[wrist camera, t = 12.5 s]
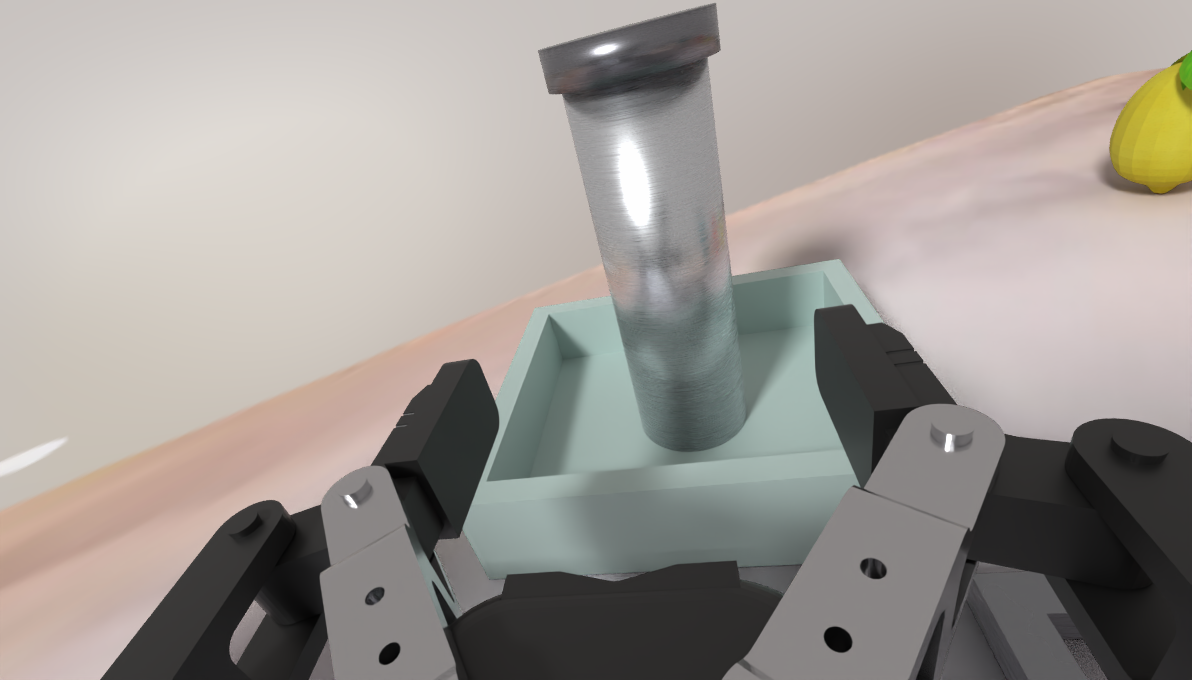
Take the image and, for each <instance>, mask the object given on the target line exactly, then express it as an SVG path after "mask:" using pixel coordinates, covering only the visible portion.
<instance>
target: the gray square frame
mask: <svg viewBox="0 0 1192 680" xmlns="http://www.w3.org/2000/svg"><path fill="white" fill-rule="evenodd" d="M966 600H967V602H968V604H969V606H970V608H971V610H972V612H973V614H974V616H975V618H976V620H977V622H978V624H979V626H980V628H981V630H982V632H983V634H984V635H985V637H986V639H987V641H988V643H989V645H990V647H991V649H992V651H993V653H994V655H995V657H996V659H997V661H998V663H999V665H1000V667H1001V669H1002V671H1003V673H1004V675H1005V677H1006V678H1007V680H1088V679H1087V677H1086V676H1085V674H1084V673H1083V671H1082V669H1081V668H1080V666H1079V665H1078V663H1077V662H1076V660H1075V658H1074V657H1073V655H1072V654H1071V652H1070V650H1069V649H1068V647H1067V646H1066V644H1065V643H1064V641H1063V639H1083V638H1082V636H1081V635H1080V633H1079V631H1078V630H1077V628H1076V626H1075V625H1074V623H1073V622H1072V620H1071V618H1070V617H1069V615H1068V613H1067V612H1066V610H1065V608H1064V607H1063V605H1062V603H1061V602H1060V600H1059V599H1058V597H1057V595H1056V594H1055V592H1054V590H1053V589H1052V587H1051V585H1050V584H1049V582H1048V581H1047V579H1046V577H1045V576H1044V574H1040V573H1035V572H1030V571H1023V572H1000V573H977V574H975V576H974V579H973V582H972V584H971V587H970V590H969V593H968V596H967V599H966Z"/></svg>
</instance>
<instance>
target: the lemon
mask: <svg viewBox="0 0 1192 680" xmlns="http://www.w3.org/2000/svg"><path fill="white" fill-rule="evenodd" d="M1109 149H1110V157H1111V161H1112V164H1113V166H1114V169H1115V170H1116V171H1117V173H1118V174H1119V175H1120V176H1122V177H1124V178H1125V179H1128V180H1130V181H1132V182H1135V183H1139V184H1143V185H1146V186H1148V188H1149V189H1150V190H1151V191H1152V192H1154V193H1161V194H1162V193H1166V192H1168V191H1170V190H1172V189H1173V188H1174V187H1176V186H1177V185H1179V184H1182V183H1186V182H1189V181H1192V50H1191V52H1190V53H1188V54H1186V55H1185V56H1183V57H1181V58H1180V59H1178V60H1177V61H1176V62H1174V63H1173V64H1172V65H1171V66H1170V67H1168V68H1167V69H1165V70H1163V71H1161V72H1160V73H1158V74H1156V75H1155V76H1154V77H1152V78H1151V79H1150V80H1148V81H1147V82H1146V83H1145V84H1144V85H1143V86H1142V87H1141V88H1140V89H1139V90H1138V91H1137V92H1136V93H1135V94H1134V95H1133V96H1132V97H1131V99H1130V100H1129V101H1128V102H1127V104H1126V105H1125V107H1124V108H1123V110H1122V111H1121V113H1120V115H1119V117H1118V119H1117V121H1116V124H1115V126H1114V129H1113V132H1112V135H1111V138H1110V147H1109Z"/></svg>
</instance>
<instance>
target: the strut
mask: <svg viewBox="0 0 1192 680" xmlns="http://www.w3.org/2000/svg"><path fill="white" fill-rule="evenodd" d="M720 50H721V49H720V39H719V30H718V20H717V9H716V3H713V4H708V5H704V6H700V7H696V8H692V9H688V10H684V11H680V12H676V13H672V14H668V15H664V16H660V17H657V18H653V19H649V20H645V21H642V22H638V23H634V24H630V25H626V26H623V27H619V28H616V29H611V30H608V31H604V32H600V33H597V34H593V35H590V36H586V37H583V38H579V39H575V40H572V41H568V42H564V43H561V44H557V45H554V46H551V47H547V48H544V49H541V50H538V53H539V56H540V61H541V64H542V68H543V72H544V76H545V80H546V84H547V88H548V92H549V94H562V96H563V100H564V104H565V108H566V112H567V116H568V120H569V124H570V128H571V132H572V137H573V141H574V145H575V149H576V153H577V157H578V161H579V166H580V170H581V174H582V178H583V182H584V186H585V190H586V195H587V199H588V203H589V207H590V211H591V215H592V220H593V224H594V228H595V232H596V236H597V240H598V244H599V248H600V253H601V257H602V261H603V265H604V269H605V273H606V277H607V282H608V286H609V290H610V294H611V298H612V302H613V306H614V311H615V315H616V319H617V323H618V327H619V331H620V335H621V339H622V344H623V348H624V352H625V356H626V360H627V364H628V368H629V373H630V377H631V381H632V385H633V389H634V393H635V397H636V401H637V406H638V410H639V414H640V418H641V422H642V426H643V430H644V432H645V434H646V435H647V436H648V438H649V439H650V440H652V441H653V442H654V443H656V444H657V445H659V446H661V447H664V448H666V449H670V450H674V451H680V452H697V451H704V450H708V449H712V448H715V447H717V446H720V445H722V444H724V443H726V442H727V441H729V440H731V439H732V438H733V437H735V436H736V435H737V434H738V433H739V432H740V430H741V429H742V428H743V426H744V424H745V421H746V417H747V410H746V401H745V392H744V383H743V374H742V365H741V356H740V347H739V338H738V328H737V319H736V310H735V301H734V292H733V283H732V274H731V265H730V256H729V247H728V238H727V229H726V220H725V211H724V202H723V194H722V184H721V175H720V167H719V157H718V148H717V140H716V131H715V121H714V113H713V103H712V94H711V85H710V77H709V67H708V58H707V57H709V56H711V55H713V54H715V53H717V52H719V51H720Z"/></svg>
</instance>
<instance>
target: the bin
mask: <svg viewBox="0 0 1192 680" xmlns="http://www.w3.org/2000/svg"><path fill="white" fill-rule="evenodd" d="M732 283H733V292H734V301H735V310H736V319H737V328H738V338H739V347H740V356H741V365H742V374H743V383H744V392H745V401H746V410H747V417H746V421H745V424H744V426H743V428H742V429H741V430H740V432H739V433H738V434H737V435H736V436H735V437H733V438H732V439H731V440H729V441H727V442H726V443H724V444H722V445H720V446H717V447H715V448H712V449H708V450H704V451H697V452H680V451H674V450H670V449H666V448H664V447H661V446H659V445H657V444H656V443H654V442H653V441H652V440H650V439H649V438H648V436H647V435H646V434H645V432H644V430H643V426H642V422H641V418H640V414H639V410H638V406H637V401H636V397H635V393H634V389H633V385H632V381H631V377H630V373H629V368H628V364H627V360H626V356H625V352H624V348H623V344H622V339H621V335H620V331H619V327H618V323H617V319H616V315H615V311H614V306H613V302H612V298H611V296H606V297H600V298H594V299H588V300H582V301H576V302H569V303H563V304H557V305H551V306H545V307H538V308H535V309H534V311H533V314H532V316H531V318H530V321H529V323H528V325H527V328H526V330H525V332H524V335H523V337H522V339H521V342H520V344H519V346H518V349H517V351H516V354H515V356H514V358H513V361H512V363H511V365H510V368H509V370H508V372H507V375H506V377H505V379H504V382H503V384H502V386H501V389H500V391H499V393H498V396H497V398H496V400H495V403H496V405H497V408H498V412H499V431H498V434H497V436H496V439H495V442H494V444H493V447H492V450H491V453H490V455H489V458H488V461H487V463H486V466H485V469H484V471H483V474H482V477H481V480H480V482H479V485H478V488H477V490H476V493H475V496H474V498H473V501H472V504H471V507H470V509H469V512H468V515H467V517H466V520H465V523H464V525H463V528H462V529H463V531H464V533H465V535H466V537H467V539H468V541H469V542H470V544H471V546H472V548H473V550H474V552H475V554H476V556H477V557H478V559H479V561H480V563H481V565H482V567H483V569H484V571H485V572H486V574H487V576H488V578H489V580H490V579H506V576H507V574H523V573H539V572H555V571H561V572H566V573H571V574H576V575H592V574H613V573H633V572H652V571H655V570H658V569H662V568H665V567H668V566H672V565H675V564H686V563H702V562H719V561H735V560H737V566H738V567H756V566H776V565H796V564H803V563H804V561H805V559H806V558H807V556H808V554H809V553H810V551H811V549H812V548H813V546H814V544H815V543H816V541H817V539H818V538H819V536H820V534H821V533H822V531H823V529H824V528H825V526H826V524H827V523H828V521H829V519H830V518H831V516H832V514H833V513H834V511H835V509H836V508H837V506H838V504H839V503H840V501H841V499H842V498H843V496H844V495H845V493H846V492H847V490H848V489H849V488H850V487H851V486H853V485H856V486H859V487H860V485H859V482H858V480H857V478H856V476H855V473H854V471H853V469H852V466H851V464H850V462H849V459H848V457H847V455H846V452H845V450H844V448H843V445H842V443H841V441H840V439H839V436H838V434H837V432H836V429H835V427H834V425H833V422H832V420H831V418H830V415H829V413H828V411H827V409H826V406H825V404H824V402H823V399H822V397H821V394H820V392H819V388H818V384H817V379H816V373H815V346H814V312H815V310H816V309H820V308H826V307H833V306H840V305H847V304H853V305H854V306H855V308H856V309H857V311H858V312H859V314H860V315H861V317H862V318H863V320H864V321H865V323H866V324H874V323H881V322H882V323H884V322H883V320H882V319H881V317H880V316H879V315H878V313H877V312H876V310H875V309H874V307H873V306H872V305H871V303H870V302H869V300H868V299H867V297H866V296H865V295H864V293H863V292H862V290H861V289H860V287H859V286H858V285H857V283H856V282H855V280H854V279H853V277H852V276H851V275H850V273H849V272H848V270H847V269H846V268H845V266H844V265H843V263H842V262H841V260H840V259H835V260H829V261H823V262H817V263H811V264H804V265H798V266H792V267H786V268H780V269H773V270H767V271H761V272H755V273H749V274H743V275H736V276H732ZM884 324H885V323H884Z"/></svg>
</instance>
